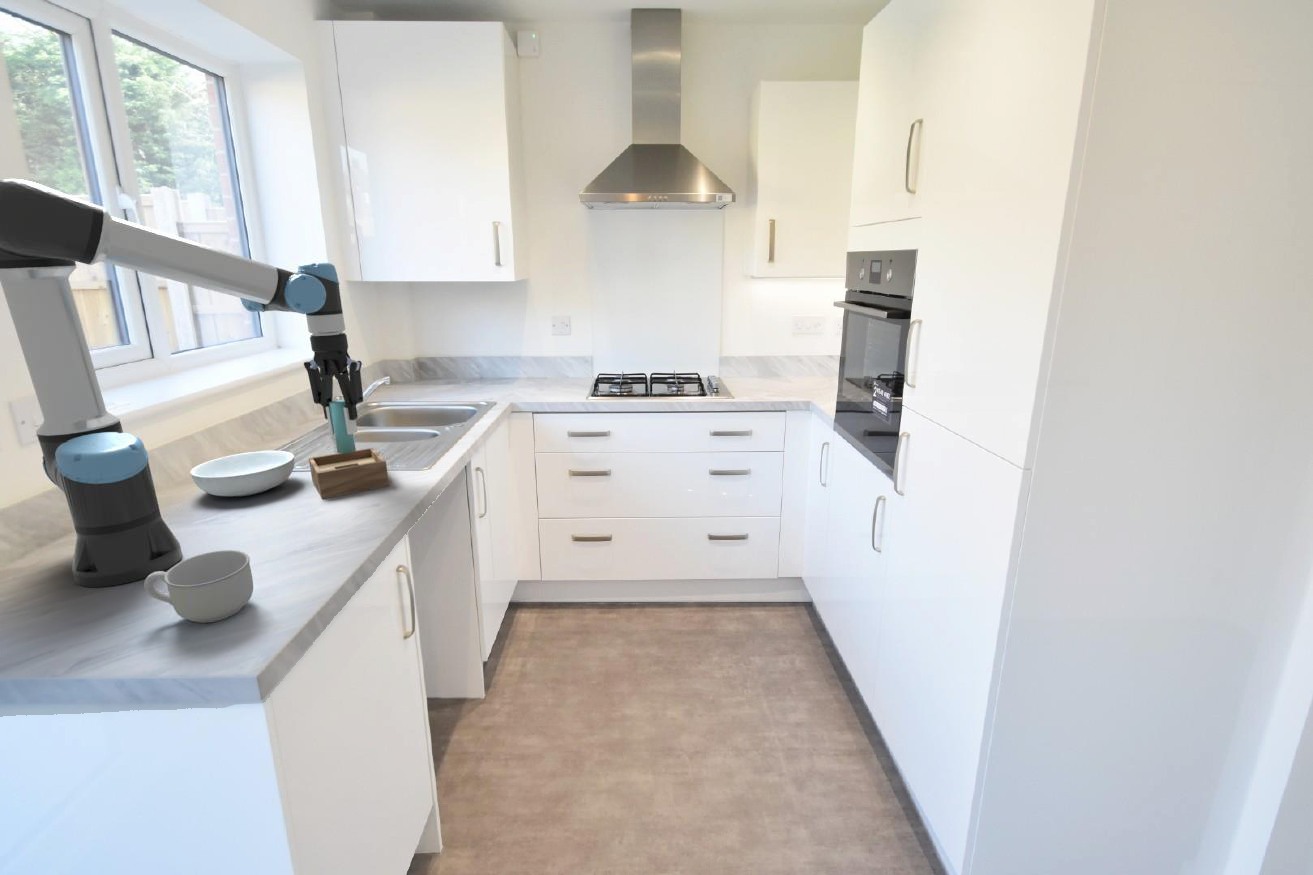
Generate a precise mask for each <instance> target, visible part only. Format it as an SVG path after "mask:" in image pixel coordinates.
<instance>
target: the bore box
mask: <svg viewBox="0 0 1313 875" xmlns="http://www.w3.org/2000/svg"><path fill="white" fill-rule="evenodd" d="M308 464H309V468H310V473H311V474H310V475H311V481H312V483H313V486H314V487H315V488H316V491H317V493H318V494H319V497H320V498H321V499H327V498H332V497H338V496H341V495H346V494H347V495H348V494H352V493H358V492H363V491H364V492H365V491H368V490H374V489H377V488H384V487H388V486H389V487H390V482H389V476H388V467H387V466H388V465H387V460H385V459H384V458H383V456H381V454H380V453H378V452H377V451H376V449H375V448H373V447H368V448H363V449H356V450H355V451H354V452H351V453H343V454H341V453H338V452H337V453H332V454H325V455H319V456H312V457H308Z"/></svg>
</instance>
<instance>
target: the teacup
mask: <svg viewBox="0 0 1313 875" xmlns="http://www.w3.org/2000/svg"><path fill="white" fill-rule="evenodd" d="M250 561H251V560H250V556H249V555H248V554H247V553H246V552H243V551H240V550H233V549H225V550H224V549H223V550H222V549H221V550H214V551H209V552H204V553H201V554H197V555H194V556H191V557H188V558H186V559H184V560H182V561H180V562H177V563H176V564H174V565H173V566H171V567H170V569H167V571H165V570H164V571H157V572H154V573H152V574H150V575H149V576H148V577H146V578H145V580H144V583H143V587H144V591H145V592H146V593H147V594H148V595H149V596H150V597H152V598H154V599H156V600H159V601H161V602H165V603H168V604H170V605H171V606H172V607H173V610H174V611H175V613H176V614H177V615H178V616H179V617H180V618H182V619H184V620H188V621H192V622H195V623H202V624H203V623H204V624H205V623H206V622H207V623H213V621H214V622H217V621H221V620H225V619H227V618H229V616H230V617H231V616H233V615H236V613H238V612H239V611H241V610H242V608H244V606H245V605H246V604H247V603H248V602H249V601H250V600H251V598H252V596H253V593H254V581H253V580H254V579H253V573H252V569H251V568H252V567H251V565H250ZM155 580H161V581H163V582H164V583H165V584H166V587H167V590H168V591H167V592H168V593H167V592H164V591H162V590H160V589H158V588H157V587H156V586H155V584H154V581H155ZM207 623H206V624H207Z"/></svg>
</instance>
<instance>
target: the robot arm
mask: <svg viewBox="0 0 1313 875" xmlns="http://www.w3.org/2000/svg"><path fill="white" fill-rule="evenodd" d="M76 262H77V263H82V264H85V265H88V266H92V265H95V264H98V263H100V262H101V263H106V264H109V265H113V266H116V267H121V268H124V269H128V270H132V271H136V272H140V273H144V274H148V275H151V276H155V277H160V278H163V279H167V280H172V281H174V282H178V283H181V284H186V285H189V286H190V285H191V286H195V287H197V288H202V289H205V290H209V291H213V292H217V293H220V294H223V295H224V294H225V295H229V296H232V297H236V298H238V299H240V302H241V304H242V306H243V307H244V308H245V309H246V311H248V312H251V313H252V312H253V313H255V312H257V313H258V312H260V313H261V312H262V313H265V312H274V311H275V312H276V311H277V312H285V313H287V312H288V313H290V312H291V313H297V314H302V315H305V317H306V323H307V330H308V333H310V334H311V335H310V337H309V340H310V347H311V351H312V352H313V353H314V354H313V358H312V359H311V360H308V361H305V362H303V366H304V368H305V369H306V371H307V377H308V380H309V384H310V390H311V394H312V399H313V403H314V404H319V405H320V406H322V408H323V414H324V418H325V420H327V423H328V424H327V425H328V431H329V434H330V435H335V434H334V428H333V422H332V416H331V410H330V404H329V403H330V402H332V401H334V398H333V396H334V394H333V390H334V378H335V379H336V381H337V384H338V386H339V389H340V392H341V394H342V398H343V400H344V401H345V404H346V405H345V406H344V407H343V410H344V416H345V423H346V429H347V435H351V434H353V435H354V434H355V433H357V432H358V427H357V419H358V418H359V416H358V411H357V405H359V404H362V403H363V402H364V394H363V383H362V377H361V376H362V375H361V369H362V365H363V363H362V361H361V360H354V359H352V358H351V356H350V355H349V353H348V349H349V345H348V336H347V334H346V333H345V332H344V331H345V330H346V325H345V318H344V313H343V311H344V310H343V307H342V306H343V305H342V299H341V298H342V296H341V292H340V290H341V289H340V282H339V278H338V273H337V269H336V267H335V265H334V264H333V263H331V262H312V263H310V262H309V263H299V264H298V267H297V268H298V270H297V272H294V271H290V270H287V269H284V268H283V269H282V268H281V267H276V266H274V265H270V264H267V263H264V262H261V261H258V260H255V259H251V258H248V257H244V256H241V255H238V254H234V253H232V252H228V251H225V250H222V249H218V248H215V247H212V246H208V245H206V244H202V243H199V242H197V241H196V242H195V241H192V240H189V239H186V238H183V237H179V236H176V235H173V234H171V233H167V232H163V231H160V230H157V229H155V228H154V229H153V228H151V227H147V226H143V225H140V224H138V223H134V222H130V221H127V220H125V219H121V218H117V217H114V216H112V215H111V214H110V213H109V212H108V211H107V209H106V208H105V207H104V206H100V205H97V204H94V203H90V202H88V201H85V200H82V199H79V198H77V197H73V195H68V194H65V193H63V192H60V191H58V190H55V189H53V188H50V187H47V186H45V185H43V184H39V183H36V182H34V181H28V180H26V179H25V180H24V179H18V178H7V179H0V284H1V288H2V290H3V294H4V297H5V300H6V303H7V306H8V309H9V313H10V316H11V319H12V323H13V325H14V326H13V327H14V329H15V331H16V335H17V338H18V340H19V341H18V342H19V344H20V348H21V350H22V354H23V357H24V361H25V363H26V367H27V370H28V372H29V376H30V379H31V382H32V385H33V388H34V392H35V395H36V397H37V401H38V404H39V408H40V411H41V414H42V417H43V422H42V424H40V426H39V427H38V428H37V429H36V431H35V434H36V436H37V439H38V442H39V446H40V449H41V452H42V468H43V470H44V473H45V475H46V476H47V478H48V479H49V480H50V481H51V482H52V483H53V484H54V485H55V486H57V487H58V488H59V489H60V490H61V491H62V492H63V493H64V495H65V498H66V501H67V504H68V507H69V512H70V515H71V516H70V517H71V520H72V523H73V527H74V530H75V534H76V540H75V546H74V553H73V560H72V566H71V571H72V576H73V578H74V582H75V583H76V584H77V585H79V586H81V587H82V586H83V587H88V588H89V587H90V588H96V587H97V588H100V587H111V586H117V585H122V584H127V583H130V582H131V583H132V582H135V581H139V580H142V579H146V578H147V577H148V576H149V575H150V574H152V573H154V572H157V571H164V572H165V570H169V568H170V569H171V568H172V567H173V566H175V565H176V564H178V563H179V561H180V560H181V559H182V558H183V552H182V547H181V544H180V542H179V540H178V539H177V537H176V536H175V535H174V533H173V531H172V530H171V528H170V527H169V526H168V525H167V524H166V522H165V521H164V519H163V517H162V515H161V511H160V510H161V509H160V506H159V502H158V498H157V493H156V490H155V489H156V488H155V484H154V479H153V476H152V473H151V472H152V471H151V468H150V462H149V453H148V451H147V449H146V447H145V444H144V442H143V439H141V438H140V437H138V436H137V435H134V434H132V433H127V432H124V430H123V426H122V423H121V420H120V418H119V417H118V416H116V415H114V414H113V413H110V412H109V411H108V410H107V409H106V405H105V402H104V397H103V395H102V391H101V386H100V385H99V381H98V377H97V374H96V370H95V366H94V363H93V359H92V356H91V354H90V350H89V347H88V346H89V345H88V342H87V338H86V336H85V335H86V334H85V331H84V329H83V328H84V327H83V325H82V322H81V318H80V315H79V311H78V308H77V304H76V300H75V297H74V294H73V291H72V286H71V283H70V280H69V278H70V275H72V273H73V272H74V271H75V270H76V269H77V264H76Z"/></svg>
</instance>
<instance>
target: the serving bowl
mask: <svg viewBox="0 0 1313 875" xmlns="http://www.w3.org/2000/svg"><path fill="white" fill-rule="evenodd" d="M294 467H295V455H294V453H292V452H289V451H284V450H283V451H282V450H261V451H250V452H242V453H238V454H236V453H235V454H231V455H226V456H222V457H219V458H215V459H211V460H208V461H206V462H203V463H201V464H198V465H196V466H195V467H193V468H192V469H191V470H190V472H189V474H190V476H191V479H192V480H193V482H194V484H195V485H196V487H197V488H198V489H200V490H202V491H203V492H205V493H206V494H209V495H213V496H219V497H233V496H240V497H247V496H253V494H254V495H258V494H261V493H263V492H265V491H268V490H270V489H273V488H276V487H277V486H279V485H280V484H282V483H284V482H285V481H286V480H288V478H289V477H290V476H291V474H292V473H293V470H294ZM257 493H258V494H257Z"/></svg>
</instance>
